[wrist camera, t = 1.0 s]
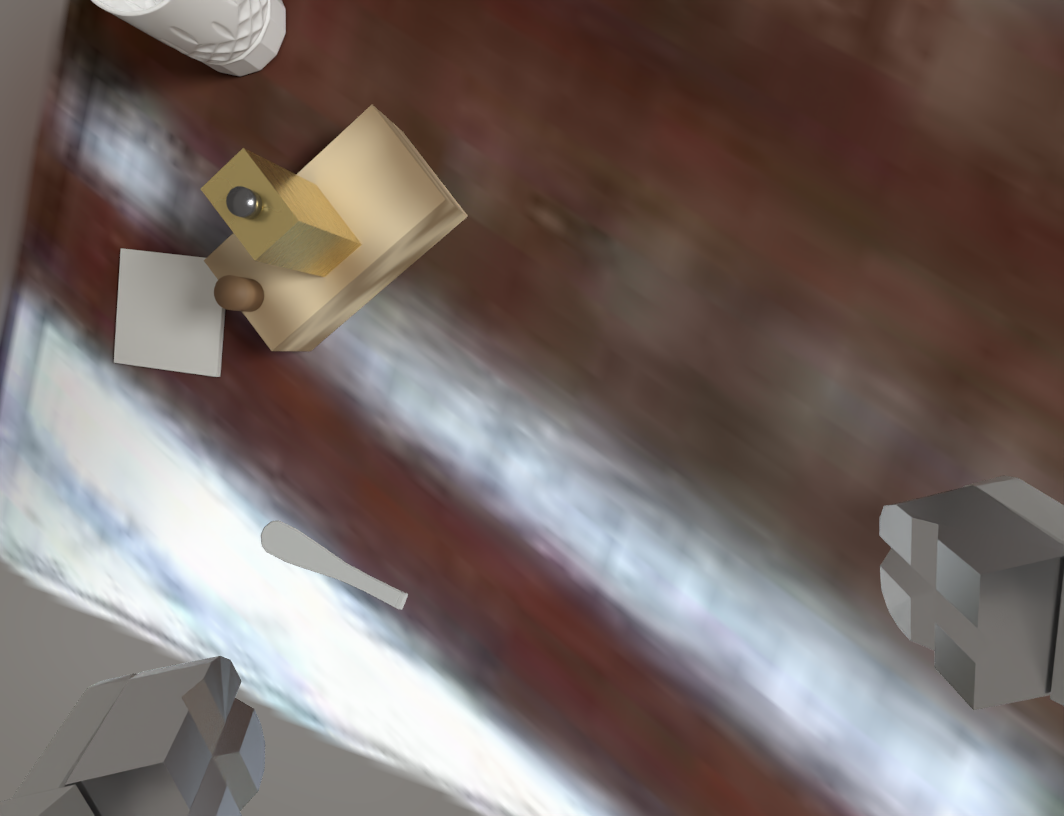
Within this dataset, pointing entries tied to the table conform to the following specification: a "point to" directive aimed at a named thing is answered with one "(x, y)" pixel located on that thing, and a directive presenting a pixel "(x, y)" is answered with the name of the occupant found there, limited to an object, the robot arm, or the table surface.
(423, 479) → the table surface
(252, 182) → the brass knob block
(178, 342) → the mat
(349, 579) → the butter knife
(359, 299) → the body
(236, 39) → the white cup
